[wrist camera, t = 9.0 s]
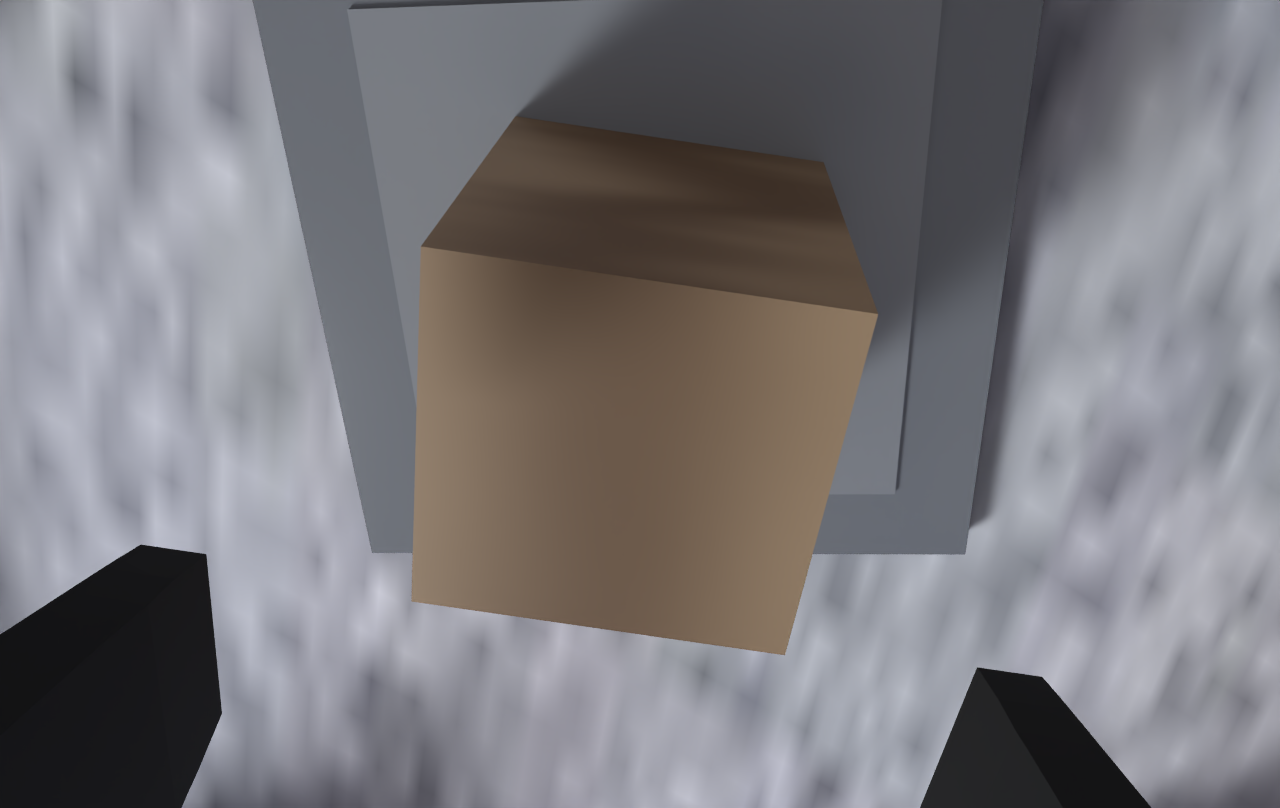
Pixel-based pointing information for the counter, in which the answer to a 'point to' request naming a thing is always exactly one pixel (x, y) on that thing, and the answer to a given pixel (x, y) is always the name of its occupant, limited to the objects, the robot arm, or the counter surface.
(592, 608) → the block
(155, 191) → the counter surface
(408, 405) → the coaster
